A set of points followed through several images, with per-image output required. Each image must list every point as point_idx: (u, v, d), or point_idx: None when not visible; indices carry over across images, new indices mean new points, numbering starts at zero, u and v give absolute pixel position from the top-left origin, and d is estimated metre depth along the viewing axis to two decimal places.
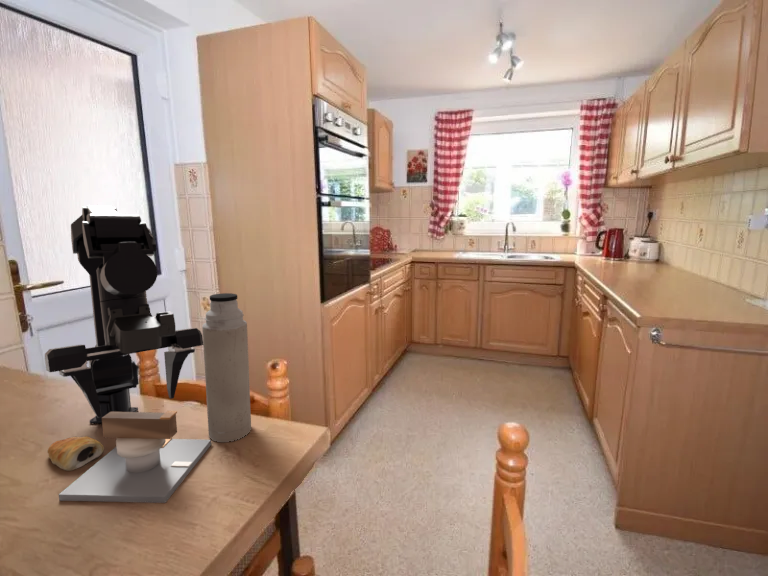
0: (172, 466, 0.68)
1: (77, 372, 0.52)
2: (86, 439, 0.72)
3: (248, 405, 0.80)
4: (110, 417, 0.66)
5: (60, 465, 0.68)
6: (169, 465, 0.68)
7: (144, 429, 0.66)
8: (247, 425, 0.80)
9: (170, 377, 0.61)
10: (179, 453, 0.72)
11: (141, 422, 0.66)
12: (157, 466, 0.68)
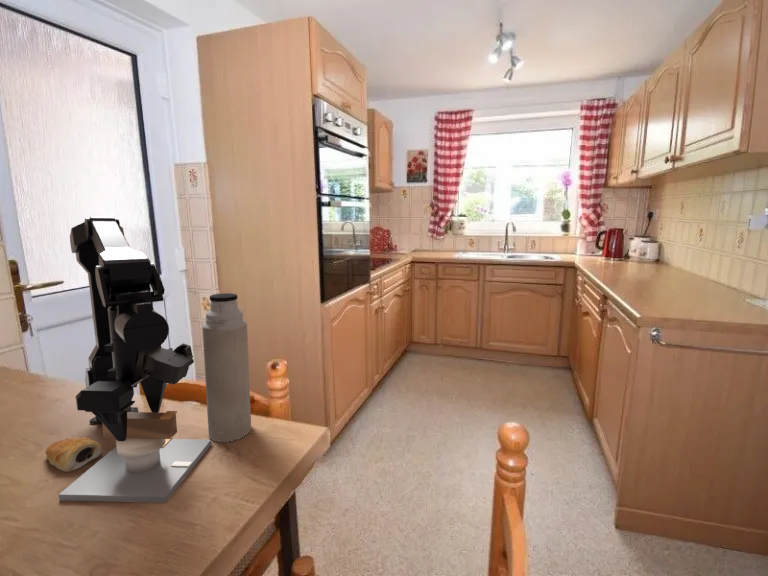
0: (172, 466, 0.68)
1: (128, 406, 0.60)
2: (84, 440, 0.72)
3: (248, 405, 0.80)
4: None
5: (58, 466, 0.68)
6: (169, 465, 0.68)
7: (144, 429, 0.66)
8: (247, 425, 0.80)
9: (157, 395, 0.71)
10: (179, 453, 0.72)
11: (141, 422, 0.66)
12: (157, 466, 0.68)
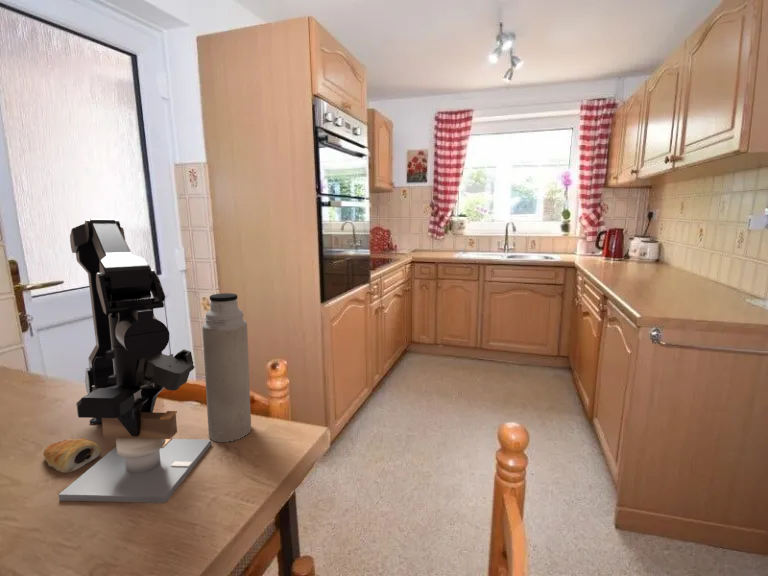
0: (172, 466, 0.68)
1: (142, 403, 0.63)
2: (83, 441, 0.71)
3: (248, 405, 0.80)
4: None
5: (57, 467, 0.68)
6: (169, 465, 0.68)
7: (144, 429, 0.66)
8: (247, 425, 0.80)
9: (147, 410, 0.68)
10: (179, 453, 0.72)
11: (141, 422, 0.66)
12: (157, 466, 0.68)
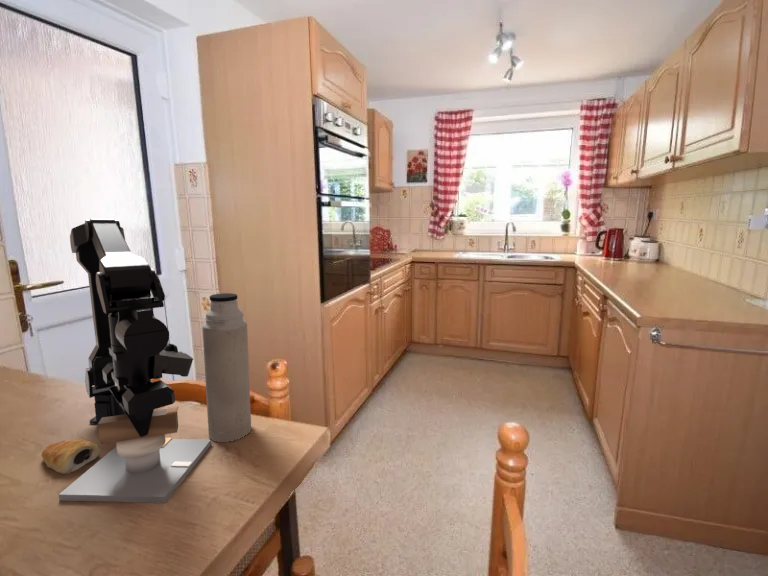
0: (172, 466, 0.68)
1: None
2: (82, 441, 0.71)
3: (248, 405, 0.80)
4: (108, 421, 0.65)
5: (56, 468, 0.67)
6: (169, 465, 0.68)
7: None
8: (247, 425, 0.80)
9: None
10: (179, 453, 0.72)
11: None
12: (157, 466, 0.68)
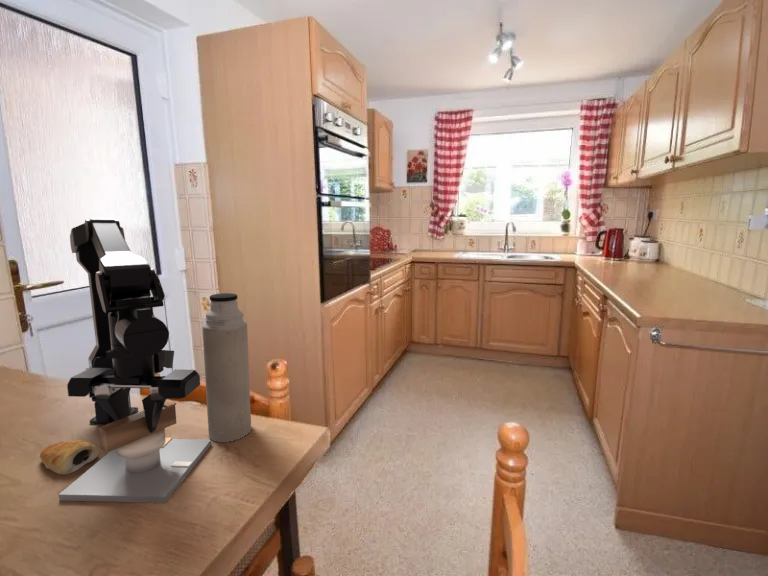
0: (172, 466, 0.68)
1: None
2: (80, 442, 0.71)
3: (248, 405, 0.80)
4: (114, 427, 0.63)
5: (55, 469, 0.67)
6: (169, 465, 0.68)
7: None
8: (247, 425, 0.80)
9: (127, 411, 0.68)
10: (179, 453, 0.72)
11: None
12: (157, 466, 0.68)
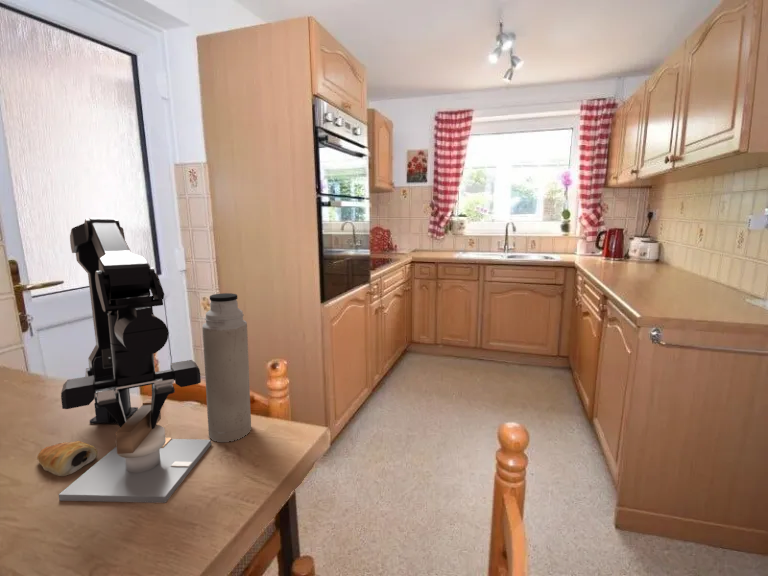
0: (172, 466, 0.68)
1: None
2: (79, 443, 0.70)
3: (248, 405, 0.80)
4: (133, 427, 0.63)
5: (53, 471, 0.67)
6: (169, 465, 0.68)
7: (150, 421, 0.69)
8: (247, 425, 0.80)
9: (124, 414, 0.66)
10: (179, 453, 0.72)
11: (149, 415, 0.68)
12: (157, 466, 0.68)
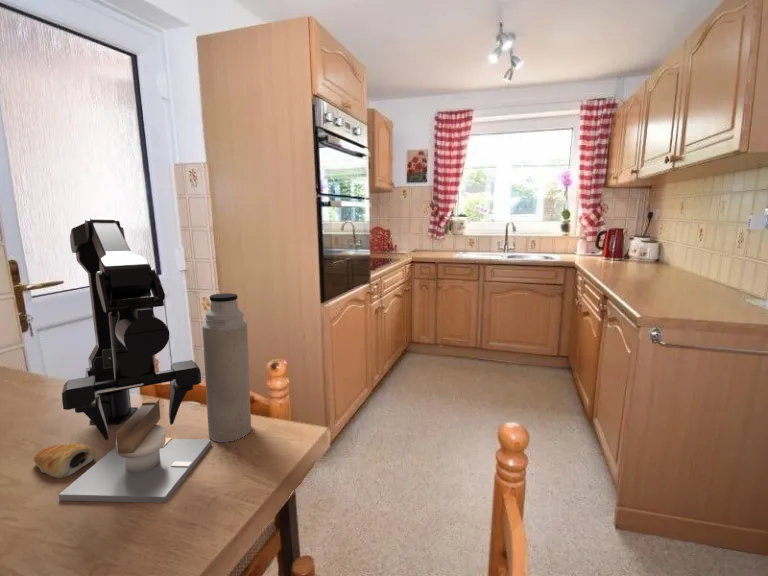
0: (172, 466, 0.68)
1: None
2: (76, 445, 0.70)
3: (248, 405, 0.80)
4: (133, 427, 0.63)
5: (51, 472, 0.66)
6: (169, 465, 0.68)
7: (150, 421, 0.69)
8: (247, 425, 0.80)
9: (104, 418, 0.65)
10: (179, 453, 0.72)
11: (149, 415, 0.68)
12: (157, 466, 0.68)
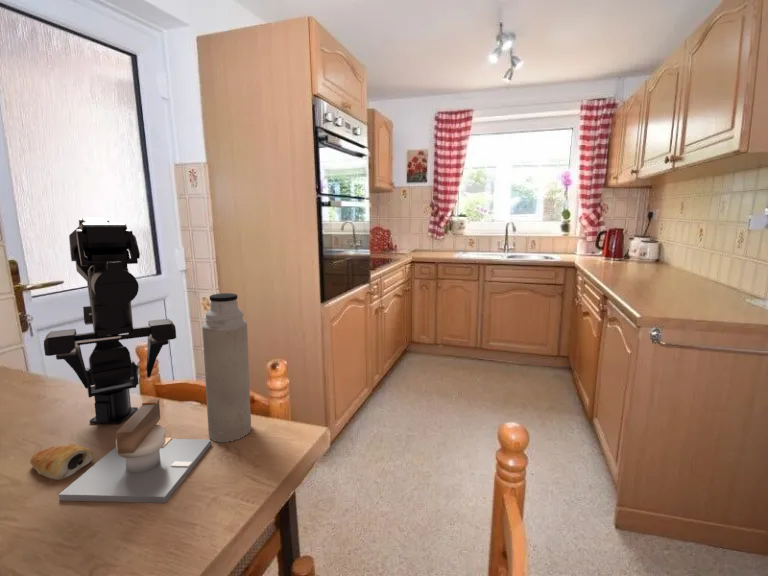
0: (172, 466, 0.68)
1: None
2: (74, 446, 0.69)
3: (248, 405, 0.80)
4: (133, 427, 0.63)
5: (49, 474, 0.66)
6: (169, 465, 0.68)
7: (150, 421, 0.69)
8: (247, 425, 0.80)
9: (85, 368, 0.70)
10: (179, 453, 0.72)
11: (149, 415, 0.68)
12: (157, 466, 0.68)
